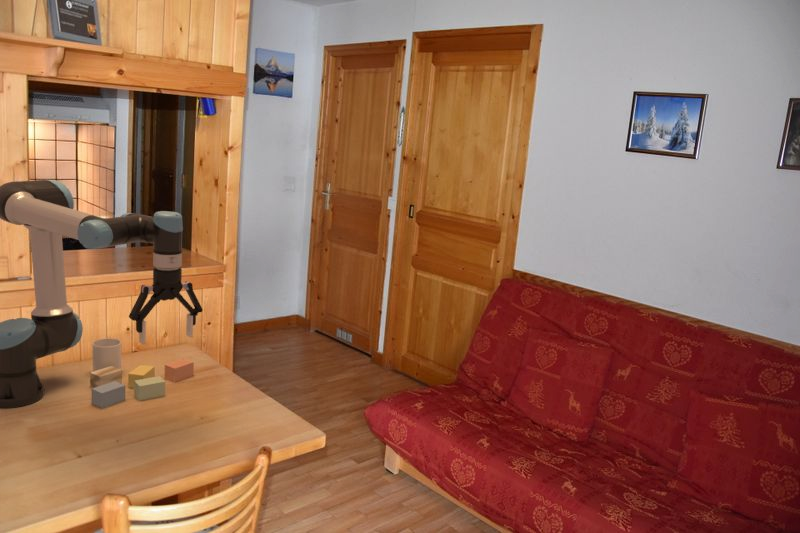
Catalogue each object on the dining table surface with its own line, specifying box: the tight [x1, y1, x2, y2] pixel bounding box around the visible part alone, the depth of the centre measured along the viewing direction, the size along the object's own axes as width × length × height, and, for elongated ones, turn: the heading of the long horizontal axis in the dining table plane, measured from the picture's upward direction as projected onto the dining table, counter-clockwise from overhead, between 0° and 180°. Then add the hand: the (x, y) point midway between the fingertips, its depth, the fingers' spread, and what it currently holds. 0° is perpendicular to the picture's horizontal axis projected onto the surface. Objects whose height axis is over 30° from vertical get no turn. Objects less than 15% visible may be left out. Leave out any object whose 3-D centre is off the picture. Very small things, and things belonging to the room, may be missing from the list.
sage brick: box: [133, 375, 166, 402], centre depth 207 cm, size 5×8×5 cm, turn 130°
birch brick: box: [89, 366, 123, 389], centre depth 211 cm, size 5×8×5 cm, turn 150°
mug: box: [91, 337, 123, 372], centre depth 221 cm, size 12×9×11 cm
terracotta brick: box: [164, 358, 195, 383], centre depth 223 cm, size 5×8×5 cm, turn 150°
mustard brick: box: [127, 364, 156, 389], centre depth 214 cm, size 5×8×5 cm, turn 175°
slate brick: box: [91, 381, 126, 409], centre depth 200 cm, size 5×8×5 cm, turn 149°
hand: (166, 339), depth 187 cm, fingers open, 13 cm apart
